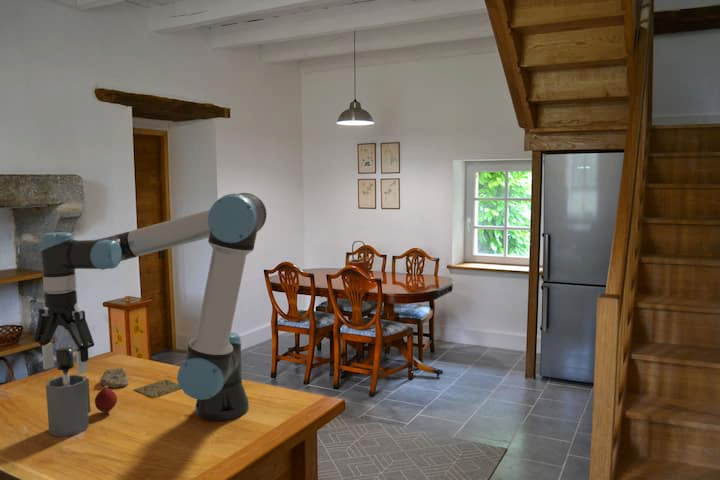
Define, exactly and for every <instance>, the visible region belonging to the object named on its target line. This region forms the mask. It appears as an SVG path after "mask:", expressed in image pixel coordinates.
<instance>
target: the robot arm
mask: <svg viewBox="0 0 720 480" xmlns="http://www.w3.org/2000/svg"><path fill="white" fill-rule="evenodd" d="M266 220H267V209H266V206H265V204H264V203H263V201H262V200H261V199H260V198H259V197H258V196H257V195H254V194H253V193H249V192H248V193H247V192H239V193H230V194H226V195H223V196H222V197H221V196H220V198H218V199H217V200H216V201H215V202H214V203H213V204H212V205H211V207H210V209H207V210H204V211H200V212H196V213H192V214H189V215H184V216H182V217H181V216H180V217H177V218H173V219H170V220H165V221H163V222H159V223H156V224H151V225H148V226H145V227H141V228H137V229H133V230H131V231H125V232H122V233H119V234H113V235H110V236H106V237H103V238H101V237H100V238H97V239H90V240H88V239H87V240H86V239H85V240H77V239H74V237H73V233H72V232H66V231H59V232H58V231H57V232H47V233H44V234H42V235H41V238H40V240H41V241H40V253H41V254H40V255H41V264H42V281H43V282H42V283H43V291H44V292H45V293H44V294H43V295H44V306H45V307H42V308H39V309H38V321H37V325H36V329H35V333H34V337H33V341H34V342H35V343H38V344H39V345H40V353H41V356H42V365H43V370H49V369H50V368H53V367H55V360H54V346H53V344H54V343H52V342H53V341H52V339H53V336H54V334H55V332H56V331H57V329H58V326H61V327H63V328H64V329H65V330H67V332H68V333H69V335H70V336H71V338H72V340H73V342H74V344H75V345H76V347H77V349H76V350H75V356H76V370H77V372H76V373H77V375H81V376H82V375H83V374H86V373H88V371H89V368H88V365H89V364H88V361H89V348H93V347H94V346H95V342H94V338H93V337H92V334H91V330H90V328H89V325H88V323H87V320H86V312H85V310H80V311H77V310H76V309H75V305H76V304H77V303H78V299H77V298H78V296H77V291H76V290H75V289H76V288H77V287H76V284H77V283H76V270H78V269H80V270H81V269H85V270H86V269H87V270H88V269H89V270H93V269H94V270H101V271H102V270H109V269H110V270H111V269H116V268H117V267H118V266H119V264H120V263H121V262H123V261H127V260H130V259H134V258H137V257H141V256H144V255H149V254H153V253H155V252H159V251H160V252H161V251H164V250H167V249H168V250H169V249H171V248H175V247H179V246H182V245H183V246H184V245H186V244H190V243H194V242H199V241H203V240H206V239H208V240H207V241H208V244H209V246H211V248H212V253H211V256H210V257H211V258H210V263H209V269H208V272H207V279H206V283H205V288H204V293H203V299H202V304H201V309H200V314H199V319H198V324H197V329H196V335H195V336H194V337H193V338H192V339H190V340H189V341H188V345H187V350H186V355H185V360H184V361H183V362H182V363H181V365H180V366H179V369H178V372H177V377H176V378H177V384H179V386H180V388H181V389H180V390H182V391H183V393H184V394H185V395H187V396H188V397H190V398H192V399H195V400H196V402H195V415H196V417H198V418H199V419H200V420H204V421H210V422H211V421H212V422H219V421H227V420H233V419H237V418H239V417H241V416H244V415H245V414H246V413H247V412H248V411H249V405H250V404H249V401H250V400H249V399H248V396H247V393H246V390H245V388H244V385H243V381H242V379H243V378H242V377H243V375H242V373H243V372H242V369H243V368H242V342H241V336H240V335H239V334H238V333H236V332H232V328H233V322H234V318H235V317H234V316H235V312H236V308H237V302H238V298H239V293H240V289H241V288H240V287H241V283H242V278H243V273H244V268H245V263H246V258H247V256H248V254H250V253H252V252H253V251H254V248H255V243H256V239H257V233H258V232H259V231H260V230H261V229H262V228H263V227H264V226H265V224H266Z"/></svg>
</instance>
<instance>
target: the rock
mask: <svg viewBox="0 0 720 480" xmlns="http://www.w3.org/2000/svg"><path fill="white" fill-rule="evenodd" d="M99 384H100V385H101V386H103V387H104V386H108V387H111V388H115V389H116V388H120V387H125V386H128V385H129V381H128V378H127V372H126V371H125V369H124V368H123V367H121V368H111V369H107V370H104V371H103V374H102V376H101V377H100V379H99Z"/></svg>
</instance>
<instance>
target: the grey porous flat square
mask: <svg viewBox="0 0 720 480" xmlns="http://www.w3.org/2000/svg"><path fill="white" fill-rule="evenodd" d="M179 390H182V389H181V388H180V386H179V383H178V382H177V383H176V382H174V381H172V380H170V379H163V380H159V381H156V382H153V383H150V384H147V385H143V386H140V387H137V388H133V389H132V391H134V392H137V393H138V394H142V395H143V396H146V397H148V398H151V399H153V400H154V399H157V398H160V397H162V396H165V395H168V394H170V393H174V392H177V391H179Z"/></svg>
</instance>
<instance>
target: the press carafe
mask: <svg viewBox="0 0 720 480" xmlns="http://www.w3.org/2000/svg"><path fill="white" fill-rule="evenodd" d="M69 378H70V386H63V375H61V376H58V377H55V378H53V379H49V380H47V381H46V385H45V391H46V406H47V407H46V408H47V420H48V422H47V423H48V432H49V435H51V436H53V437H56V438H57V437H58V438H64V437H71V436H74V435H78V434H81V433H83V432H85V431H86V430H87V429H88V428H89V425H90V424H89V420H90V419H89V413H91V412H92V411H91V410H92V409H91V398H90V397H91V396H90V395H91V394H90V383H89V382H90V381H89V378H88V377H87V376H86V375H82V374H81V375H78V374H69Z"/></svg>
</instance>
